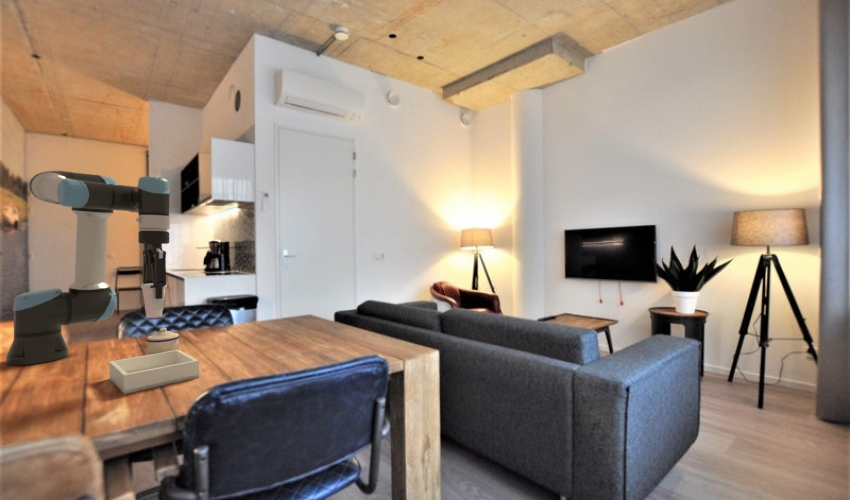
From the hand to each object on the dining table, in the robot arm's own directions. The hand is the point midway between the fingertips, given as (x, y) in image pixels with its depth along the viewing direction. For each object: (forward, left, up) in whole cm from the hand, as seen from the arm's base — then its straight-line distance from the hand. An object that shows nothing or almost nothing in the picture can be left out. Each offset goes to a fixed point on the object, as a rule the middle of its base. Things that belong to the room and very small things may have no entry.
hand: (154, 308), depth 116 cm
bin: (0, 0, -21) cm, 21 cm away
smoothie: (0, 0, -3) cm, 3 cm away
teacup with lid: (-16, +6, -21) cm, 27 cm away
